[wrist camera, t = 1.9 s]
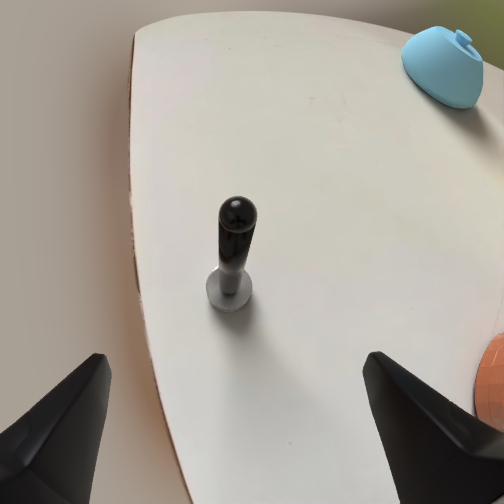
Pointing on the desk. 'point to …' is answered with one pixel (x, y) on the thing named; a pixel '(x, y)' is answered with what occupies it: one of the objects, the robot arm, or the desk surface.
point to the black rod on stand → (233, 255)
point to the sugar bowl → (445, 66)
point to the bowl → (491, 385)
